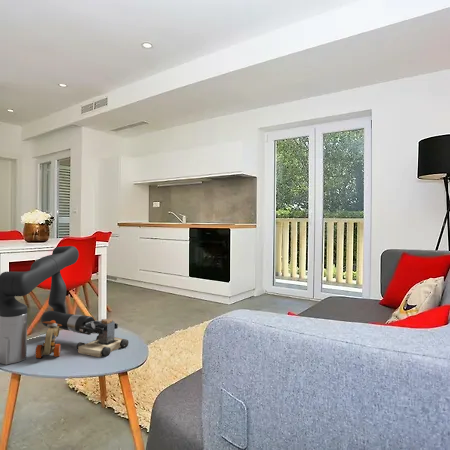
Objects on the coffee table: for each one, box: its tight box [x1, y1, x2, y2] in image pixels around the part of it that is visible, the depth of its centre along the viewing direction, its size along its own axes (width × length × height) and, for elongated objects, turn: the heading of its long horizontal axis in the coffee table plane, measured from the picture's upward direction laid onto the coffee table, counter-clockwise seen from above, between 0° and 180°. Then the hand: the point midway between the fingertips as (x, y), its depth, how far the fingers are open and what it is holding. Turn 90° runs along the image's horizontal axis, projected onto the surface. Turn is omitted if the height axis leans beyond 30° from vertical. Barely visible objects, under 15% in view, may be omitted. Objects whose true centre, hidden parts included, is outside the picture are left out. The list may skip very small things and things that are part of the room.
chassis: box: [76, 334, 130, 358], centre depth 147 cm, size 16×15×3 cm
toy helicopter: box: [35, 320, 62, 359], centre depth 143 cm, size 8×21×14 cm, turn 16°
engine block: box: [98, 318, 116, 345], centre depth 149 cm, size 4×4×11 cm
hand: (110, 328), depth 148 cm, fingers open, 8 cm apart
